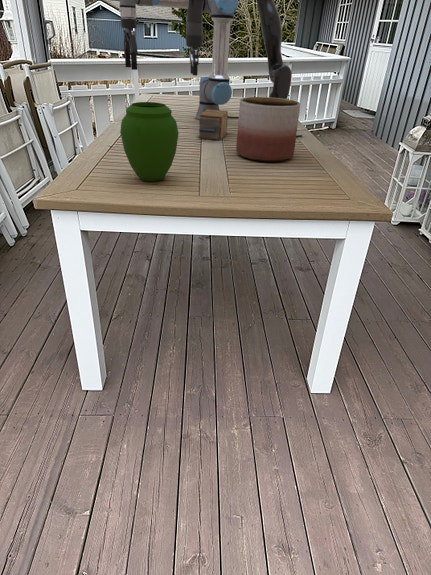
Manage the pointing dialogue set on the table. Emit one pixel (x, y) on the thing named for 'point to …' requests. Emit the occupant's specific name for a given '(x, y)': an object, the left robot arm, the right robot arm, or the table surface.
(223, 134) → the tan rectangular mottled block
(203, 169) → the table surface
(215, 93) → the left robot arm
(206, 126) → the drawer
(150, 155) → the vase
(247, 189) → the table surface
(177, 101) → the table surface
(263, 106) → the planter
